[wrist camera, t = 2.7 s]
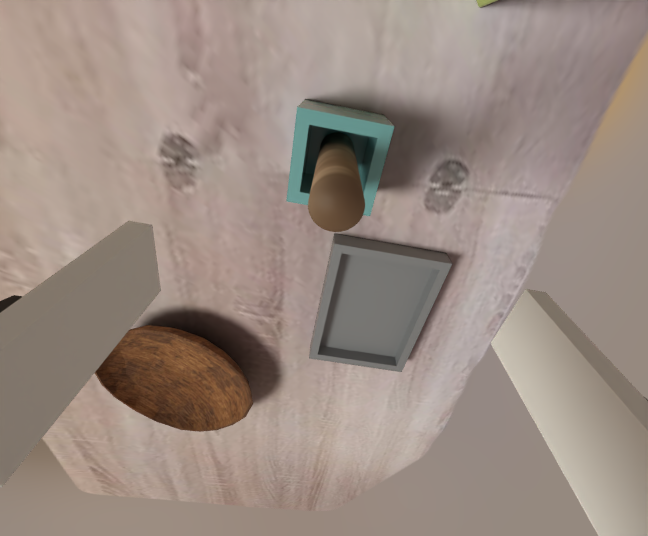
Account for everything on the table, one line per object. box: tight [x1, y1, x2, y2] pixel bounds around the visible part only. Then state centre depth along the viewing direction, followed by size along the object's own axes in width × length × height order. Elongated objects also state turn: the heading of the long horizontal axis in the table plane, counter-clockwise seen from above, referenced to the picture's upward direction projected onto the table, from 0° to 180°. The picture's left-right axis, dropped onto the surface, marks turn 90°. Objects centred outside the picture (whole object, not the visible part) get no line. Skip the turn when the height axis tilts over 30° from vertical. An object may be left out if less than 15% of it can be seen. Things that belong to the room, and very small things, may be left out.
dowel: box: [308, 132, 365, 232], centre depth 24 cm, size 3×3×14 cm
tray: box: [309, 234, 452, 372], centre depth 39 cm, size 13×18×2 cm
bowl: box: [95, 325, 253, 431], centre depth 45 cm, size 20×22×5 cm
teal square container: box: [287, 99, 394, 216], centre depth 27 cm, size 7×7×7 cm
